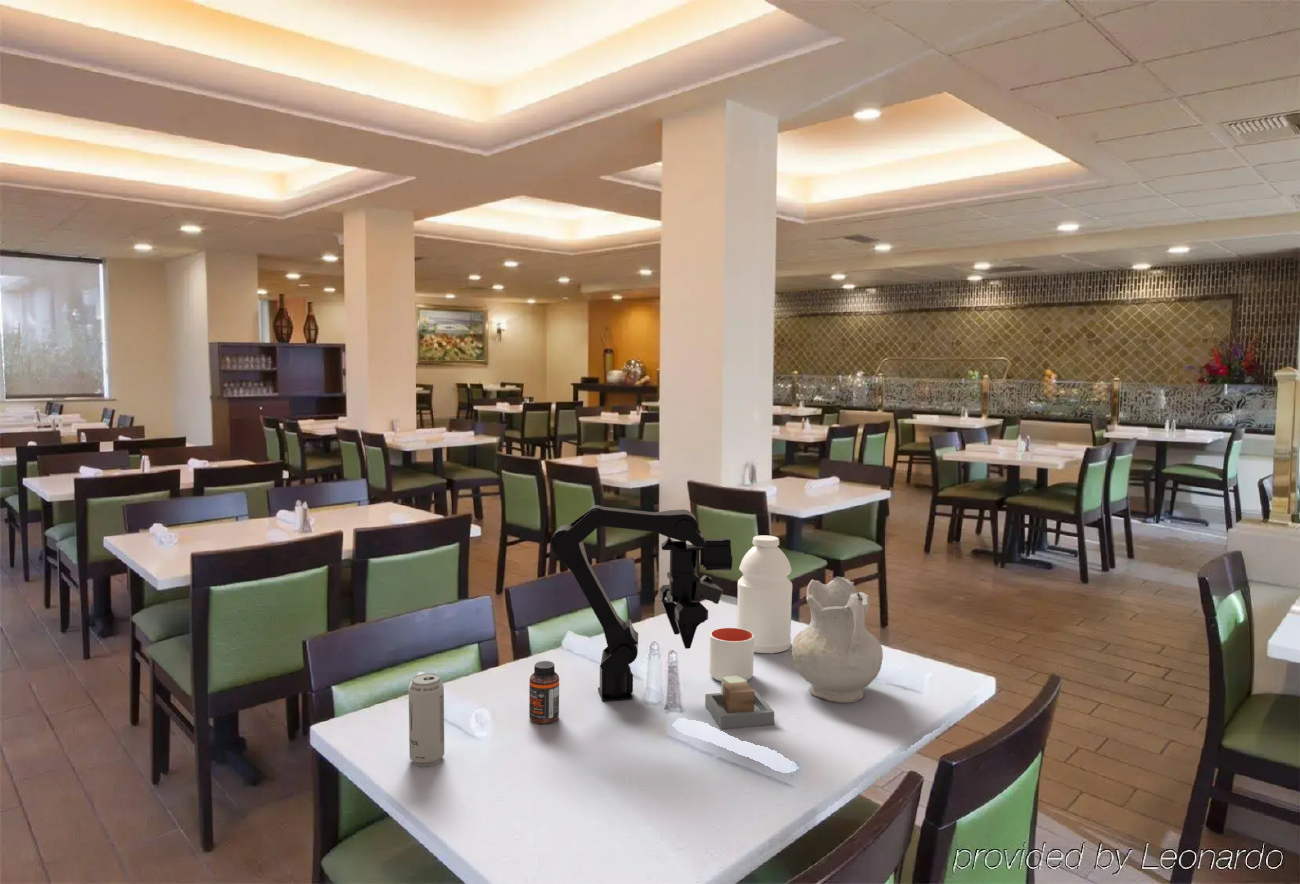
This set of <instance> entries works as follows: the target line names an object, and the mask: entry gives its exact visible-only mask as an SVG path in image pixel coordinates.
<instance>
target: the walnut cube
mask: <svg viewBox="0 0 1300 884" xmlns="http://www.w3.org/2000/svg"><path fill="white" fill-rule="evenodd" d="M754 690H755V689H753V688H752V687H751V685H749V683H748V681H747V682H737V683H725V684H723V708H724V710H725V711H726V712H727V713H739V712H751V711H754V695H755V691H754Z"/></svg>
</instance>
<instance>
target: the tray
mask: <svg viewBox="0 0 1300 884" xmlns="http://www.w3.org/2000/svg"><path fill="white" fill-rule="evenodd" d="M753 690H754V691H755V695H754V711H751V712H739V713H727V712H726V711H725V710H724V708H723V693H721V692H716V693H705V698H704V699H705V700H704V706H705V708H706V710H707V711H708V713H709V714H710V716H712V719H714V721H715V722H716V724H717V725H718V726H719V728H720V729H721V730H725V729H726V730H727V729H736V728H737V729H738V728H747V727H759V726H760V727H761V726H771V725H775V711H774V709H773V708H772V707H771V706H770V705H769V704H768V702H766V701H765V699H764V698H763V697H762V696H761V695H760V694H759V692H757V690H755V689H753Z"/></svg>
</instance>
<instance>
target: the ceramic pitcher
mask: <svg viewBox="0 0 1300 884" xmlns="http://www.w3.org/2000/svg"><path fill="white" fill-rule="evenodd" d="M854 583H855V582H854V581H850V580H849V579H847V578H845V576H843V577H842V576H835V577H832V580H830V581H829V582H828V583H827V584H824V583H822V582H821V581H820V580H815V579H811V580H810V581H809V583H808V584H807V587H806V602H807V604H808V607H809V610H810V622H809V624H808V626H806V627H805V628H804V629H802V630H800V631H799V632H798V633H797V634H796V635H795V636H794V638H793V640H792V644H791V652H792V658H793V664H794V665H795V668H796V671H797V672H798V673H799V675H800V676H801V677H802V678H803V679H804V680H805V681H806V682H808V683H809V684H811V685H810V686H809V689H808V690H809V694H810V695H811V696H812V697H813V696H814V697H816V698H818V699H819V698H820V699H823V700H824V701H829V702H832V703H836V704H842V703H843V704H844V703H857V702H859V701H860V700H861V699H863V698H864V697H865V696H866V694H865V692H864V691H863V688H867V687H868V686H870V684H871V683H873V681H874V680H875V679H876V678H877V677H878V675H879V673H880V671H881V669H882V664H883V658H884V657H883V656H884V655H883V648H882V644H881V642H880V641H879V640H878V638H877V637H876V636H875V635H873V634H871V633H870V632H869V631H868V629H867V628H866V625H865V619H866V615H867V613H868V610H869V608H870V605H871V599H870V596H869V594H867V593H865V592H862V591H857V588H856V586H855V585H854Z"/></svg>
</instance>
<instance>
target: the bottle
mask: <svg viewBox="0 0 1300 884" xmlns="http://www.w3.org/2000/svg"><path fill="white" fill-rule="evenodd" d="M752 545H753V546H752V547H751V548H750V549H748V551H746V553H745V554H744V556H743V557H742V559H741V562H740V565H739V568H738V570H739V571H740V572H741V573H742V575H741V577H740V578H739V579H738V580H737V611H736V614H737V615H736V619H737V620H736V628H739V629H744V630H747V631H750V632H751V633H753V635H754V653H759V654H775V653H776V654H777V653H782V652H785V651H787V650H788V649H790V648H791V645H792V644H791V642H792V635H791V633H792V631H791V630H792V629H791V628H792V600H793V598H792V597H793V583H792V581H791V580H790V579H789V577H788V576H789V575H790V574H791V573H792V567H791V564H790V563H791V562H790V560H789V559H788V557H787V555H786V554H785V552H784V551H782V549H781V548H779V547H778V546H780V538H779V537H777V536H773V535H760V534H759V535H755V536H753V538H752Z"/></svg>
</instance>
